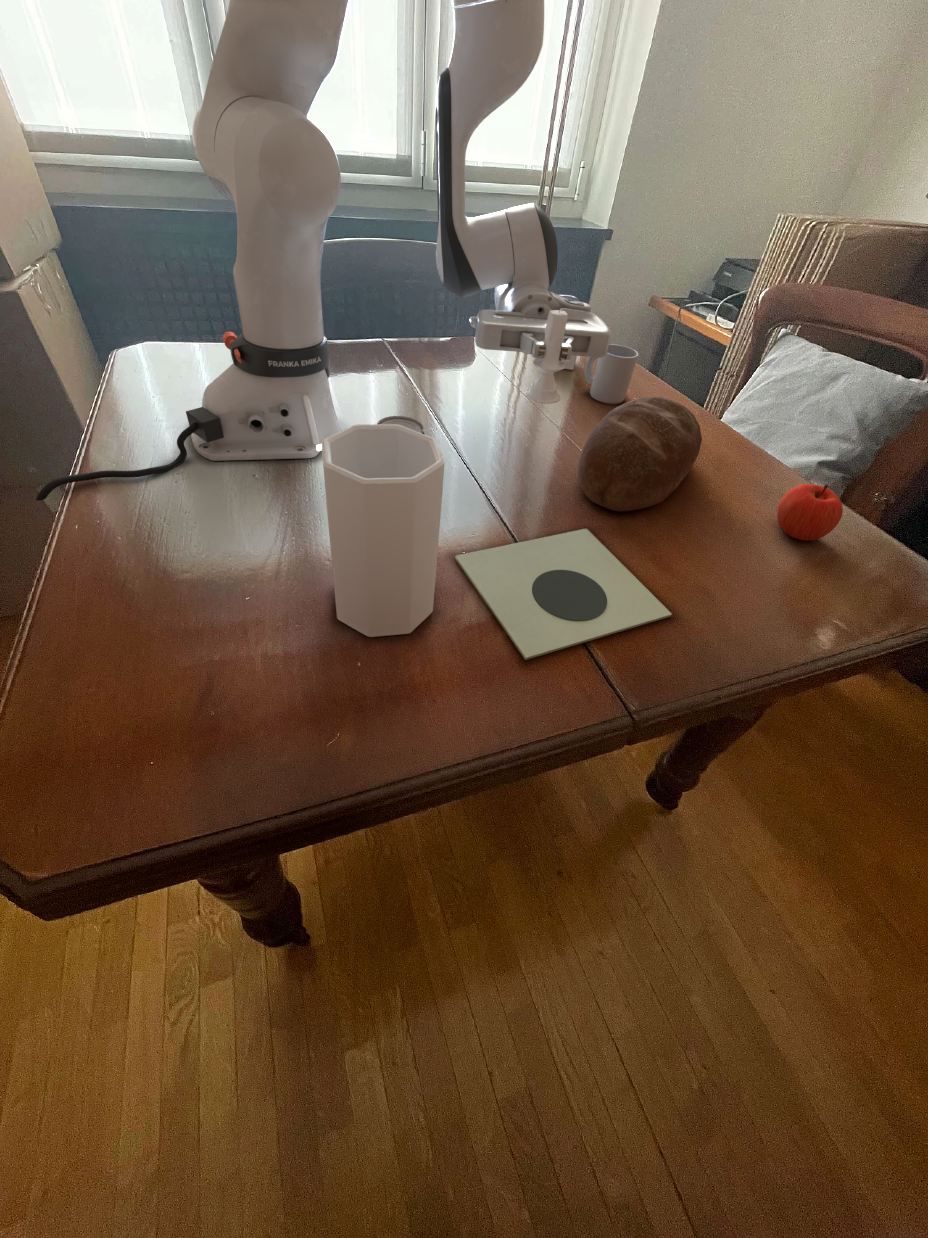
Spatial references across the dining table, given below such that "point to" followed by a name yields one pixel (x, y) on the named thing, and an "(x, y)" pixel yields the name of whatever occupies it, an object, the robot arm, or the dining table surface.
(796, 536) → the apple
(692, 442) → the bread
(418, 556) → the cup
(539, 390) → the candle
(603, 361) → the cup
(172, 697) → the dining table surface
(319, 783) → the dining table surface
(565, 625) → the mat
